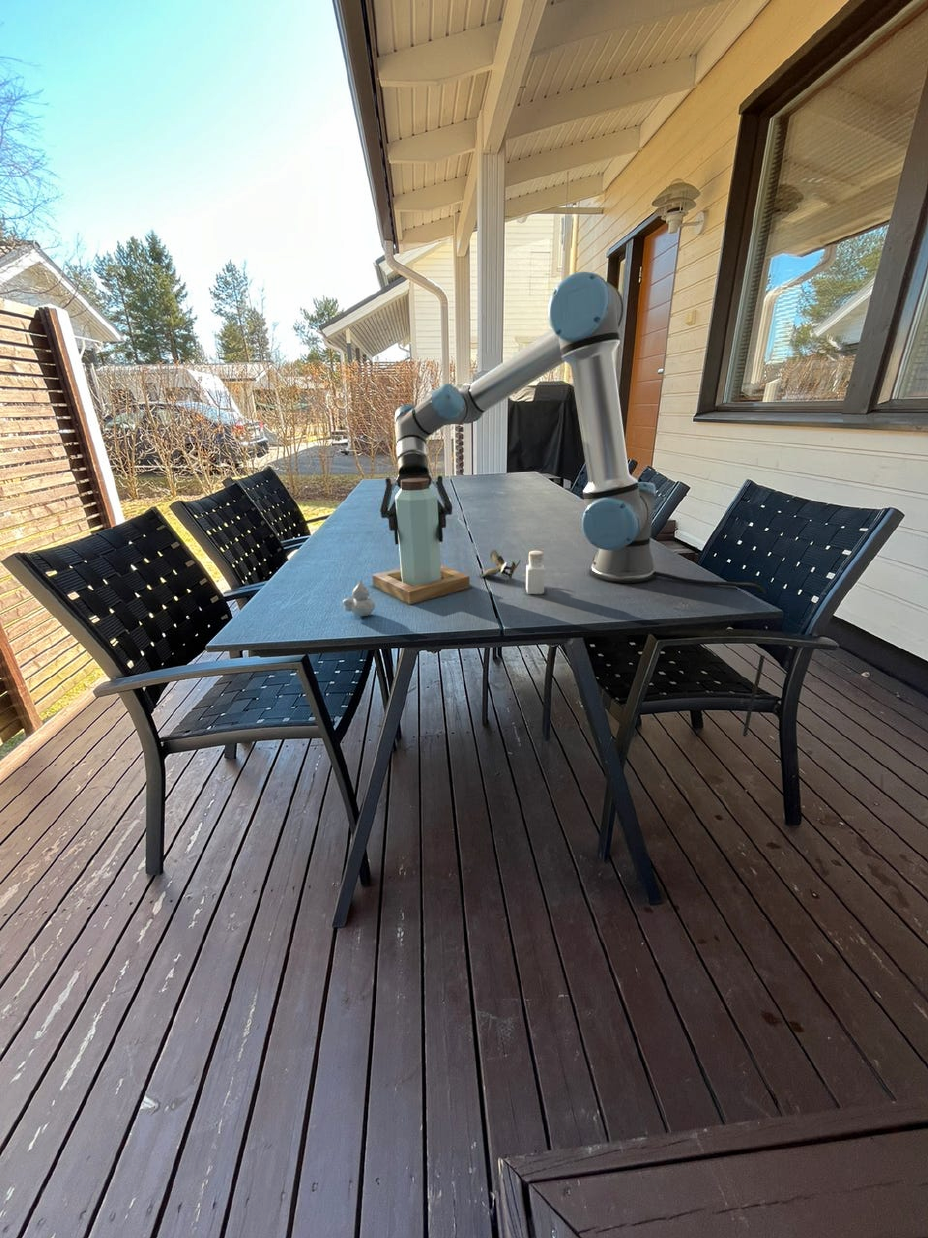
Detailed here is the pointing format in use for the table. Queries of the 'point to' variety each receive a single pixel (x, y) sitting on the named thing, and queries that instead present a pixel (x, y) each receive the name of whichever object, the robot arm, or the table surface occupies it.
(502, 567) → the eagle figurine
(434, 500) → the water bottle
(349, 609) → the white rounded figurine
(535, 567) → the pepper shaker
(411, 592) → the frame
